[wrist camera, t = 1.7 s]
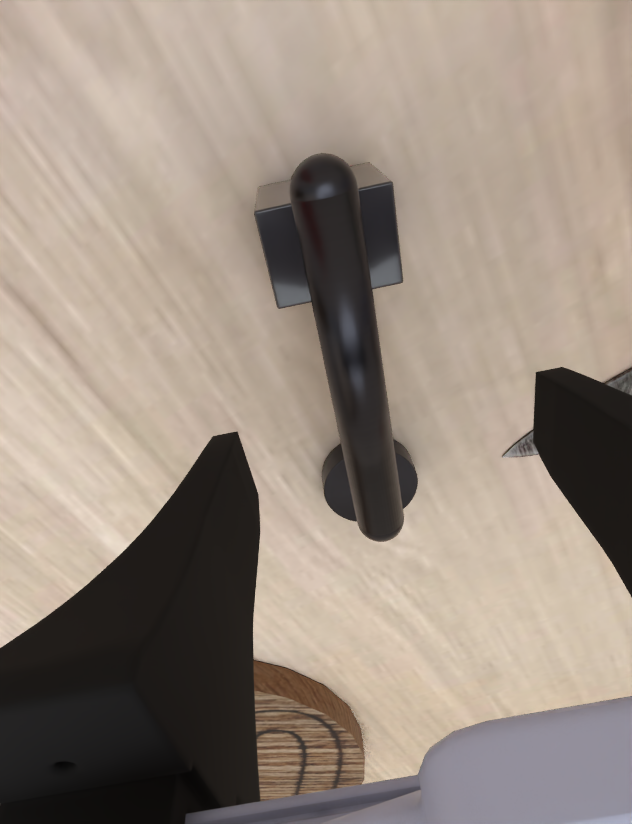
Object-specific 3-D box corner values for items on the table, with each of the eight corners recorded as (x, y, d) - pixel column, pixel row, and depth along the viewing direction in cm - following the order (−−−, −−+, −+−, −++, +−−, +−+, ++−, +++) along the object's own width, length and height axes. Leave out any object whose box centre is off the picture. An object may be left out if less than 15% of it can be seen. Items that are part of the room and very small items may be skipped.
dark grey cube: (381, 247, 20) (403, 283, 16) (276, 270, 20) (277, 309, 16) (370, 161, 18) (393, 180, 15) (257, 186, 18) (253, 211, 15)
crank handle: (415, 496, 27) (448, 592, 22) (330, 513, 27) (343, 612, 22) (371, 121, 17) (410, 138, 12) (242, 150, 18) (230, 178, 13)
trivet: (45, 835, 44) (37, 863, 42) (-32, 655, 31) (-49, 686, 29) (341, 822, 47) (344, 848, 45) (387, 651, 33) (392, 680, 32)
